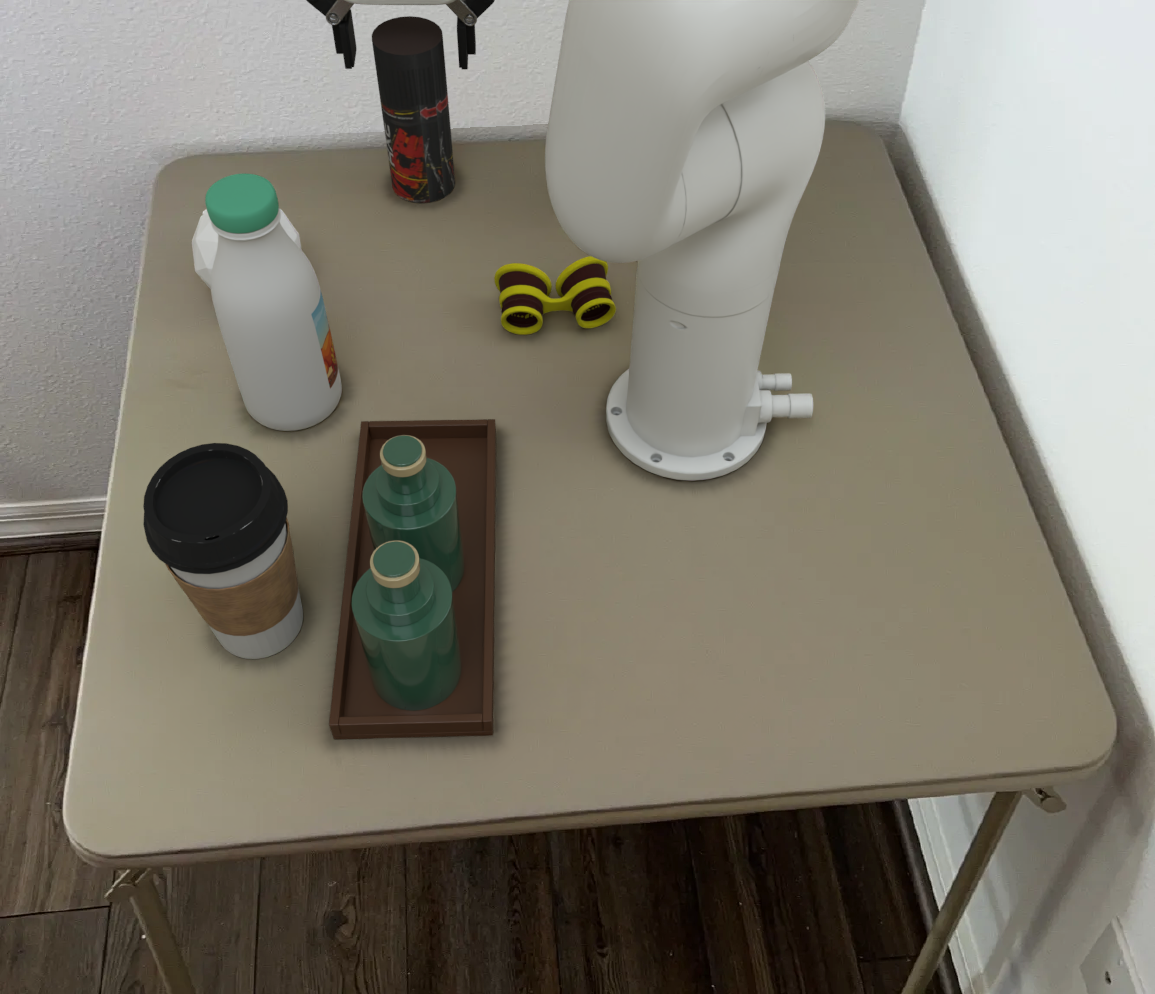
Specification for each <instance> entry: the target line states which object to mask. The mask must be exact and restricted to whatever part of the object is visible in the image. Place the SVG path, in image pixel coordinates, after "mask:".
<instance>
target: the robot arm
mask: <svg viewBox="0 0 1155 994" xmlns="http://www.w3.org/2000/svg"><path fill="white" fill-rule="evenodd" d="M305 1H306V2H307V3H308V4H309V5H311V6H312V7H313V8H315V9H316V10H317V11H318V12H320V14H322V15H323V16H324V17H325V21H326V22H327V23H328V24H329V25H331V28H332V29H331V30H332V36H333V43H334V47H335V53H336V55H343V56H342V57H343V63H344V69H346V70H352V69H353V68H355V64H356V56H357V42H356V33H355V25H354V22H353V21H354V20H353V19H354V18H353V13H352V12H353V11H352V8H353V6H354V5H365V6H442V5H443V6H444V5H446V7H448V8H449V10H451V12H452V13H453V14H454V15H455V16H456V39H457V56H458V68H459V69H461V70H468V68H469V55H470V56H471V55H473V56H476V55H477V44H476V43H477V42H476V41H477V40H476V39H477V38H476V24H477V22H478V18H480V17H481V16H482V15H483V14H484V13H485V12H486V11H487V10H488V9H489V8H490V7H491V6H492V5H493V4H494V3H495V0H305ZM860 1H861V0H568V3H567V8H566V13H565V18H564V24H563V30H562V37H561V42H560V48H559V56H558V59H557V60H558V61H557V66H556V72H555V79H554V85H553V92H552V98H551V104H550V109H549V116H548V121H547V130H546V135H545V136H546V137H545V148H544V170H545V172H544V173H545V180H546V187H547V192H548V197H549V200H550V203H551V206H552V209H553V213H554V214H555V215H554V216H555V217H556V219H557V221H558V223H559V226H560V227H561V229H562V230H563V232H564V233H565V235H566V236H567V237H568V238H569V240H570V241H571V242H572V244H574V245H575V246H576V247H577V248H578V249H579V250H580V251H582V252H584V253H585V254H586V255H588V256H592V257H594V258H596V259H599V260H602V261H606V262H607V263H613V264H626V263H627V264H628V263H634V262H637V264H636V275H635V276H636V278H635V279H636V280H635V291H634V303H633V314H632V315H633V316H632V329H631V341H630V342H631V343H630V354H629V366H628V368H627V369H626V370H625V371H623V373H622V374H620V375H619V376H618V377H617V379H616V381H614V383H613V384H612V386H611V388H610V391H609V393H608V395H607V399H606V408H605V422H606V427H607V430H608V434H609V436H610V437H611V439H612V441H613V443H614V445H615V446H616V448H617V449H618V450H619V451H620V452H621V453H622V455H623V456H624V457H626V459H628V460H630V461H631V462H632V463H633V464H635V465H636V466H637V467H640V468H642V470H643V469H644V470H645V471H647V472H649V473H652V474H655V475H657V476H659V477H664V478H668V479H672V480H677V481H692V482H693V481H703V480H704V481H705V480H711V479H715V478H719V477H722V476H725V475H728V474H730V473H733V472H734V471H738V469H740V468H741V467H742V466H744V465H745V464H747V463H748V462H749V461H750V460H751V459H752V458H753V457H754V456H755V454H757V452H758V450H759V448H760V447H761V445H762V443H763V441H764V437H765V434H766V430H767V423H771V421H772V419H773V418H787V419H811V418H812V417H813V413H814V398H813V394H812V393H809V392H807V393H805V392H804V393H803V392H801V393H787V394H772V392H771V391H775V392H779V391H780V392H782V391H783V392H785V391H787V392H788V391H789V392H791V391H792V387H793V376H792V374H791V373H790V372H786V373H785V372H783V373H782V372H779V373H777V372H775V373H773V374H771V373H768V374H763V373H762V371H761V370H759V365H760V360H761V356H762V351H763V346H764V342H765V336H766V331H767V328H768V327H767V326H768V323H769V322H768V321H769V317H770V313H771V307H772V303H773V298H774V293H775V288H776V285H777V282H778V281H777V280H778V276H779V272H780V266H781V263H782V259H783V253H784V249H785V244H786V241H787V238H788V235H789V231H790V228H791V225H792V222H793V220H794V216H795V214H796V212H797V209H798V206H799V204H800V202H801V199H802V197H803V195H804V193H805V191H806V188H807V186H808V184H809V182H810V179H811V177H812V174H813V172H814V170H815V168H816V164H817V161H818V159H819V157H820V156H819V155H820V152H821V148H822V145H823V139H824V135H825V134H824V133H825V129H826V128H825V127H826V104H825V97H824V93H823V88H822V85H821V82H820V79H819V77H818V74H817V72H816V70H815V68H814V66H813V65H812V64H811V62H810V60H812V59H814V58H815V57H817V56H819V55H820V54H821V53H823V52H825V51H826V50H827V49H828V48H830V47H831V46H832V45H833V44H835V42H836V41H837V40H838V39H839V38H840V36H841V35H843V33H844V31H845V30H846V28H847V26H848V25H849V23H850V22H851V20H852V18H853V16H854V14H855V11H856V10H857V8H858V5H859V3H860Z"/></svg>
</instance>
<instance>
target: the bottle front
mask: <svg viewBox="0 0 1155 994" xmlns="http://www.w3.org/2000/svg"><path fill="white" fill-rule="evenodd" d="M370 567H371V568H370V569H369V570H367V571H366V572H365V573H364V574H363V575H362V577H361V578H360V579H359V581H358V582H357V584H356V586H355V588H354V591H353V595H352V611H353V614H354V618H355V622H356V625H357V629H358V633H359V637H360V640H361V644H362V648H363V651H364V655H365V659H366V662H367V666H368V670H369V673H370V677H371V681H372V684H373V687H374V689H375V691H376V692H377V694H378V695H379V696H380V698H381V699H382V700H384V701H385V702H386V703H388V704H389V705H391V706H393V707H396V708H399V709H402V710H409V711H416V710H423V709H428V708H431V707H433V706H435V705H437V704H439V703H441V702H442V701H444V700H445V699H446V698H447V697H448V696H449V695H450V694H451V693H452V692H453V691H454V689H455V688H456V686H457V684H458V682H459V680H460V676H461V671H462V663H461V655H460V648H459V640H458V633H457V625H456V618H455V610H454V603H453V595H452V589H451V585H450V582H449V580H448V578H447V576H446V575H445V574H444V572H443V571H442V570H441V569H440V568H439V567H437V566H436V565H435V564H433V563H431V562H429V561H427V560H424V559H421V558H419V555H418V552H417V550H416V549H415V548H414V547H413V546H412V545H411V544H409V543H407V542H404V541H389V542H386V543H384V544H382V545H380V546H379V547H377V548H376V549H375V551H374V552H373V553H372V555H371V558H370Z"/></svg>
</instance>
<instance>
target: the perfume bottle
mask: <svg viewBox="0 0 1155 994" xmlns="http://www.w3.org/2000/svg"><path fill="white" fill-rule="evenodd" d="M279 209H280V211H281V218H280V221H279V222H280V224H281V226H282V227H283V229H284V230H285V232H286V233H287V235H288V236H289V237H290V238H291V239H292V240H293V241H294V242H295V243H296V244H297V245H298V247H299V248H300V249H301V250H302V243H301V236H300V233H299V232H298V230H297V229H296V227H295V225H293V223H292V222H291V220H290V219H289V217H288V216H287V215H286V213H285V212H284V210H283V209H281V208H279ZM201 213H202V215H201V216H200V217H199V219H198V223H197V225H196V228H195V231H194V234H193V237H192V239H191V247H192V248H191V249H192V257H193V265H194V272H195V273H196V274H197V275H198V277H199V278H200V279H201V281H203V283H204V284H205V285H206V286H207V287H208V288H209V290H211V274H212V268H213V264H214V260H215V256H216V253H217V247H218V234H217V233H216V232H215V231H214V229H213V228H212V225H211V220H210V218H209V215H208V212H207V208H206V209H204V210H203V211H202V212H201Z"/></svg>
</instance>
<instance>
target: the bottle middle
mask: <svg viewBox="0 0 1155 994" xmlns="http://www.w3.org/2000/svg"><path fill="white" fill-rule="evenodd" d="M380 459H381V464H382V465H381V466H379V467H378V468H377V469H375V470H374V471H373V472H372V473H371V475H370V476H369V477H368V479H367V481H366V483H365V485H364V488H363V493H362V499H363V505H364V509H365V514H366V518H367V523H368V527H369V531H370V536H371V540H372V545H373V549H374V551H375V549H376V548H377V547H379V546H380V545H382V544H384V543H386V542H389V541H404V542H407V543H409V544H411V545H412V546H413V547H414V548H415V549H416V550H417V552H418V555H419V558H421V559H424V560H427V561H429V562H431V563H433V564H435V565H436V566H437V567H439V568H440V569H441V570H442V571H443V572H444V574H445V575H446V576H447V578H448V580H449V582H450V585H451V589H452V592H453V591H454V590H455V589H456V588H457V587H458V585H459V584H460V582H461V580H462V578H463V575H464V570H465V562H464V554H463V545H462V536H461V527H460V518H459V509H458V500H457V491H456V485H455V481H454V478H453V476H452V475H451V473H450V472H449V471H448V470H447V469H446V468H445V467H444V466H443V465H442V464H440V463H439V462H437V461H435V460H432V459H430V458H427V457H426V450H425V446H424V444H423V443H422V442H421V441H420V440H419V439H417V438H415V437H413V436H409V435H400V436H395V437H393V438H391V439H389V440H388V441H386V442H385V443H384V445H383V446H382V448H381V450H380Z"/></svg>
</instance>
